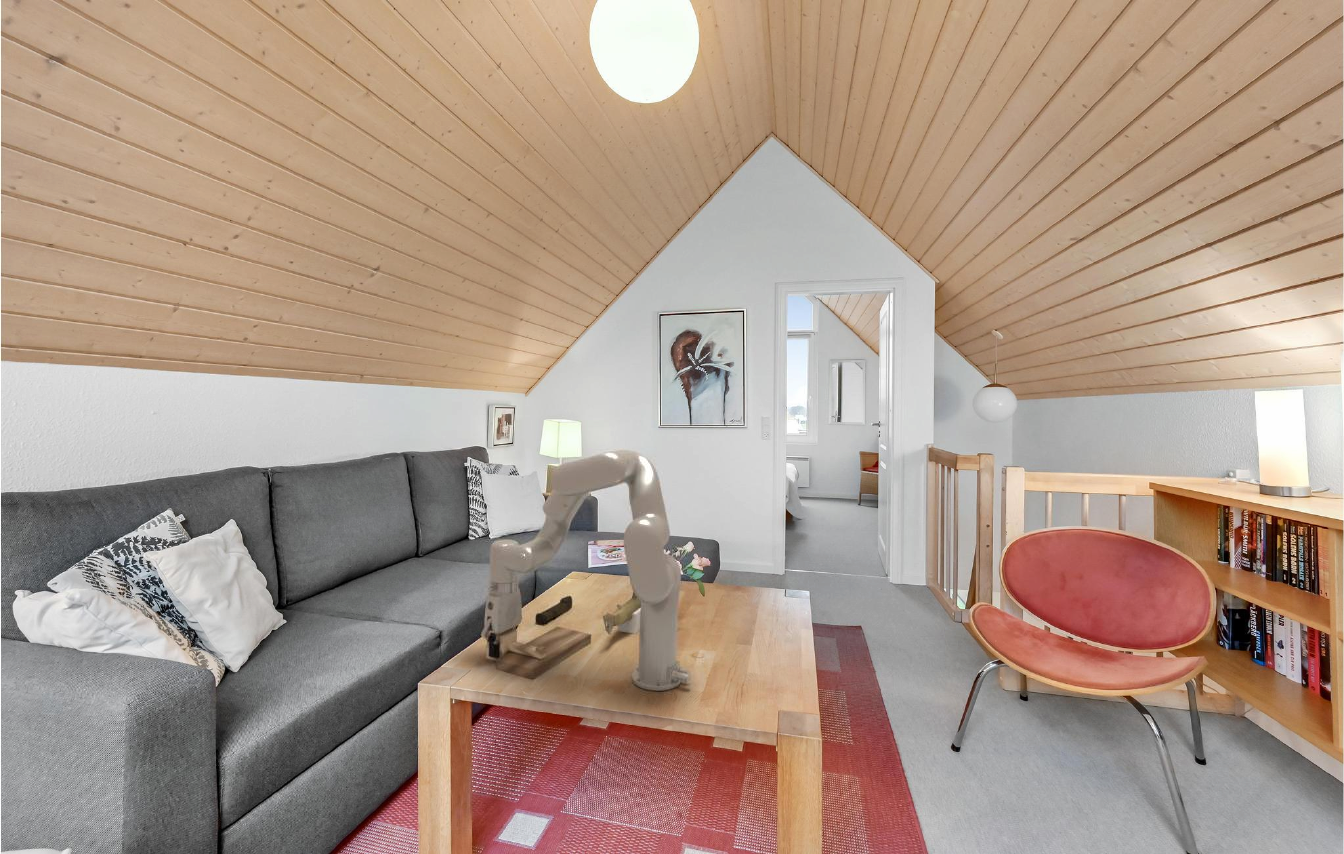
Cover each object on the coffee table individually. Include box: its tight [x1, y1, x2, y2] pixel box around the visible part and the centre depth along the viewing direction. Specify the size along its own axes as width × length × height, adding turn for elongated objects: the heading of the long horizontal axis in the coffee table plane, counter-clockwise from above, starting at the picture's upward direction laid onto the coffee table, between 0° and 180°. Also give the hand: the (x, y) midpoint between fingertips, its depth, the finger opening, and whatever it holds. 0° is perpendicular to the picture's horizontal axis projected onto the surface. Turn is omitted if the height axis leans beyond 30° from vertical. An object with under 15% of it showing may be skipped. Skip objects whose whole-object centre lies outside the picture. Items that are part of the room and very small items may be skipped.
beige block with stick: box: [485, 629, 546, 662], centre depth 146 cm, size 17×5×7 cm, turn 65°
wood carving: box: [602, 591, 641, 635], centre depth 170 cm, size 9×35×11 cm, turn 161°
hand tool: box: [534, 595, 573, 626], centre depth 181 cm, size 19×4×5 cm, turn 156°
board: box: [495, 626, 592, 680], centre depth 151 cm, size 12×26×3 cm, turn 155°
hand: (501, 652), depth 149 cm, fingers closed on beige block with stick, 5 cm apart
